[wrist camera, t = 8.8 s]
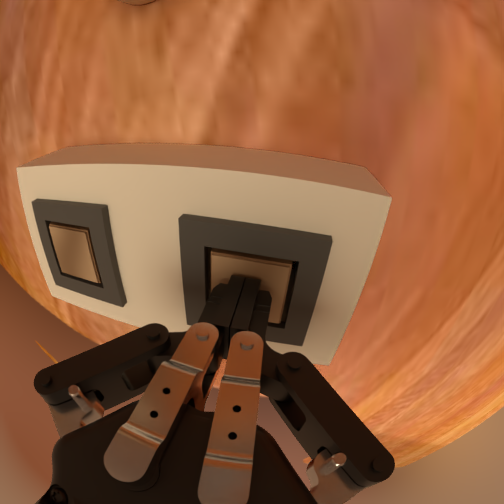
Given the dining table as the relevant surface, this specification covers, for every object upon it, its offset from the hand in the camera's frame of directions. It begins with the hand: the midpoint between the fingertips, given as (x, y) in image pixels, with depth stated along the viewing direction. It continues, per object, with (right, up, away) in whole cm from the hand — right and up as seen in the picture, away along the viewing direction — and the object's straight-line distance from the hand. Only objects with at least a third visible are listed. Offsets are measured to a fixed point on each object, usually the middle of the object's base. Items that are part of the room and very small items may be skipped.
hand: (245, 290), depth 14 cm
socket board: (-5, +4, +6) cm, 9 cm away
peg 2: (+1, +3, +6) cm, 7 cm away
